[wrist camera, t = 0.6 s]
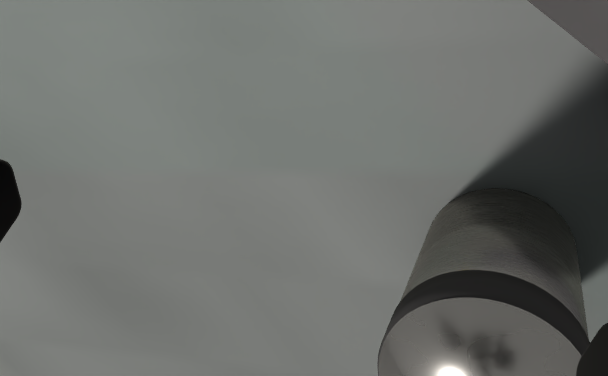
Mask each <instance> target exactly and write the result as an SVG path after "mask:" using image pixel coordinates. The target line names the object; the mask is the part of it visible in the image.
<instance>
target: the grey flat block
mask: <svg viewBox="0 0 608 376" xmlns="http://www.w3.org/2000/svg"><path fill="white" fill-rule="evenodd" d="M528 1H529V2H530V3H531V4H533V5H534V6H535V7H536V8H538V9H539V10H540V11H541V12H543V13H544V14H545V15H546V16H548V17H549V18H550V19H552V20H553V21H554V22H555V23H557V24H558V25H559V26H560V27H562V28H563V29H564V30H565V31H567V32H568V33H569V34H570V35H572V36H573V37H574V38H575V39H577V40H578V41H579V42H580V43H582V44H583V45H584V46H585V47H587V48H588V49H589V50H590V51H592V52H593V53H594V54H595V55H597V56H598V57H599V58H601V59H602V60H603V61H604V62H606V63H607V64H608V0H528Z"/></svg>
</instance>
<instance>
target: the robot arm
mask: <svg viewBox="0 0 608 376" xmlns="http://www.w3.org/2000/svg"><path fill="white" fill-rule="evenodd" d="M20 210H21V198H20V194H19V191H18V187H17V183H16V180H15V176H14V172H13V169H12V167H11V165H10V164H9V163H8V162H6V161H4V160H1V159H0V242H1V241H2V239H3V238H4V236H5V235H6V233H7V232H8V230H9V229H10V227H11V226H12V224H13V223H14V222H15V220H16V219H17V217H18V215H19V213H20ZM576 376H608V323H606V324H605V325H603V326H602V327H601V328H600V330H599V331H598V333H597V334H596V336H595V337H594V338H593V340H592V341H591V343H590V344H589V346H588V347H587V349H586V350H585V352H584V353H583V355H582V356H581V358H580V360H579V363H578V366H577V371H576Z"/></svg>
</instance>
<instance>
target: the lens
mask: <svg viewBox="0 0 608 376" xmlns="http://www.w3.org/2000/svg"><path fill="white" fill-rule="evenodd" d="M589 344H590V342H589V338H588V330H587V323H586V315H585V308H584V300H583V292H582V285H581V277H580V270H579V262H578V255H577V247H576V243H575V239H574V237H573V234H572V232H571V230H570V228H569V227H568V225H567V223H566V222H565V221H564V219H563V218H562V217H561V216H560V215H559V214H558V213H557V212H556V211H555V210H554V209H553V208H552V207H551V206H549V205H548V204H546V203H545V202H543V201H542V200H540V199H538V198H536V197H534V196H532V195H529V194H527V193H524V192H520V191H516V190H511V189H504V188H489V189H481V190H476V191H472V192H469V193H466V194H464V195H462V196H460V197H458V198H456V199H454V200H453V201H451V202H450V203H448V204H447V205H446V206H445V207H444V208H443V209H442V210H441V211H440V212H439V213H438V214H437V216H436V217H435V219H434V220H433V222H432V224H431V226H430V229H429V231H428V234H427V236H426V239H425V241H424V243H423V246H422V248H421V251H420V253H419V256H418V258H417V261H416V263H415V266H414V268H413V271H412V273H411V276H410V278H409V281H408V283H407V286H406V288H405V291H404V293H403V296H402V298H401V301H400V303H399V304H398V306H397V307H396V309H395V311H394V314H393V316H392V318H391V321H390V323H389V326H388V328H387V330H386V333H385V335H384V338H383V340H382V343H381V346H380V350H379V354H378V376H576V371H577V366H578V363H579V360H580V358H581V356H582V355H583V353H584V352H585V350H586V349H587V347H588V346H589Z"/></svg>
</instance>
